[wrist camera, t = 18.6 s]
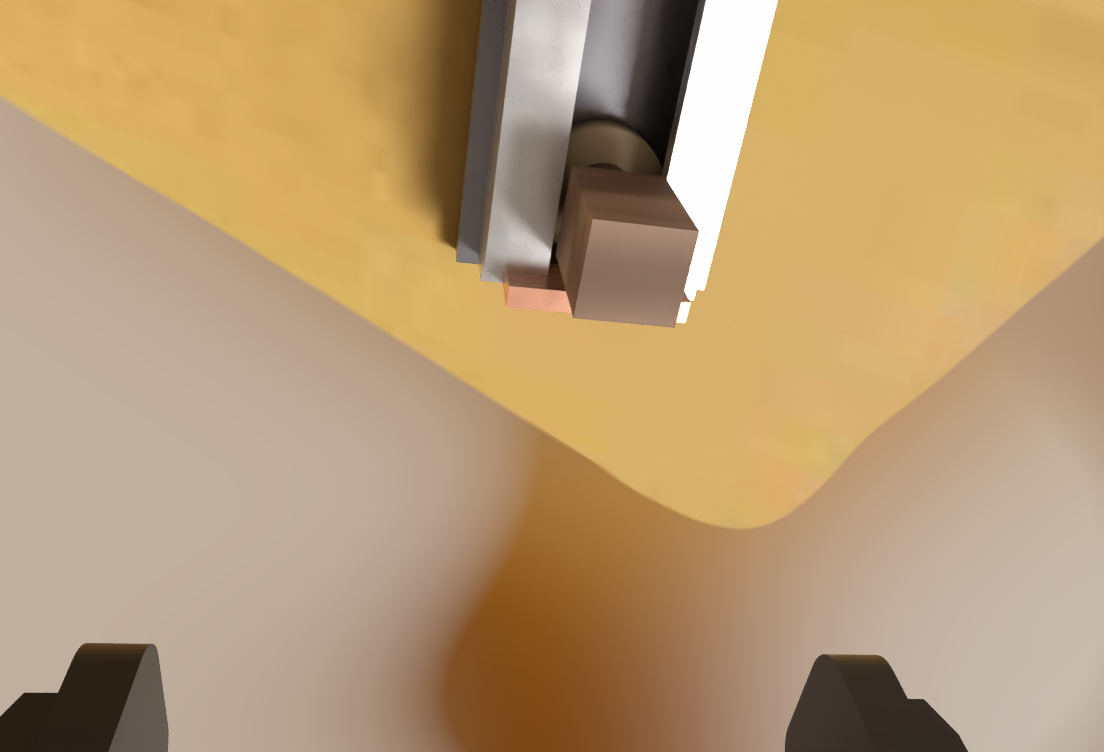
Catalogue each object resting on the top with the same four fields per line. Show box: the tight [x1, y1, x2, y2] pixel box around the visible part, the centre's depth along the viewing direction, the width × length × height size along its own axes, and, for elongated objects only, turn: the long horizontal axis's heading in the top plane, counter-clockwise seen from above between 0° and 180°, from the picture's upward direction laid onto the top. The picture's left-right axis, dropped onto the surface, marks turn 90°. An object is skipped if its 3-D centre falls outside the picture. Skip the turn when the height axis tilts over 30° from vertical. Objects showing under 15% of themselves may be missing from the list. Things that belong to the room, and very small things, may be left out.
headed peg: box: [553, 119, 700, 328], centre depth 38 cm, size 6×6×10 cm
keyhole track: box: [456, 0, 778, 323], centre depth 37 cm, size 24×12×7 cm, turn 171°
